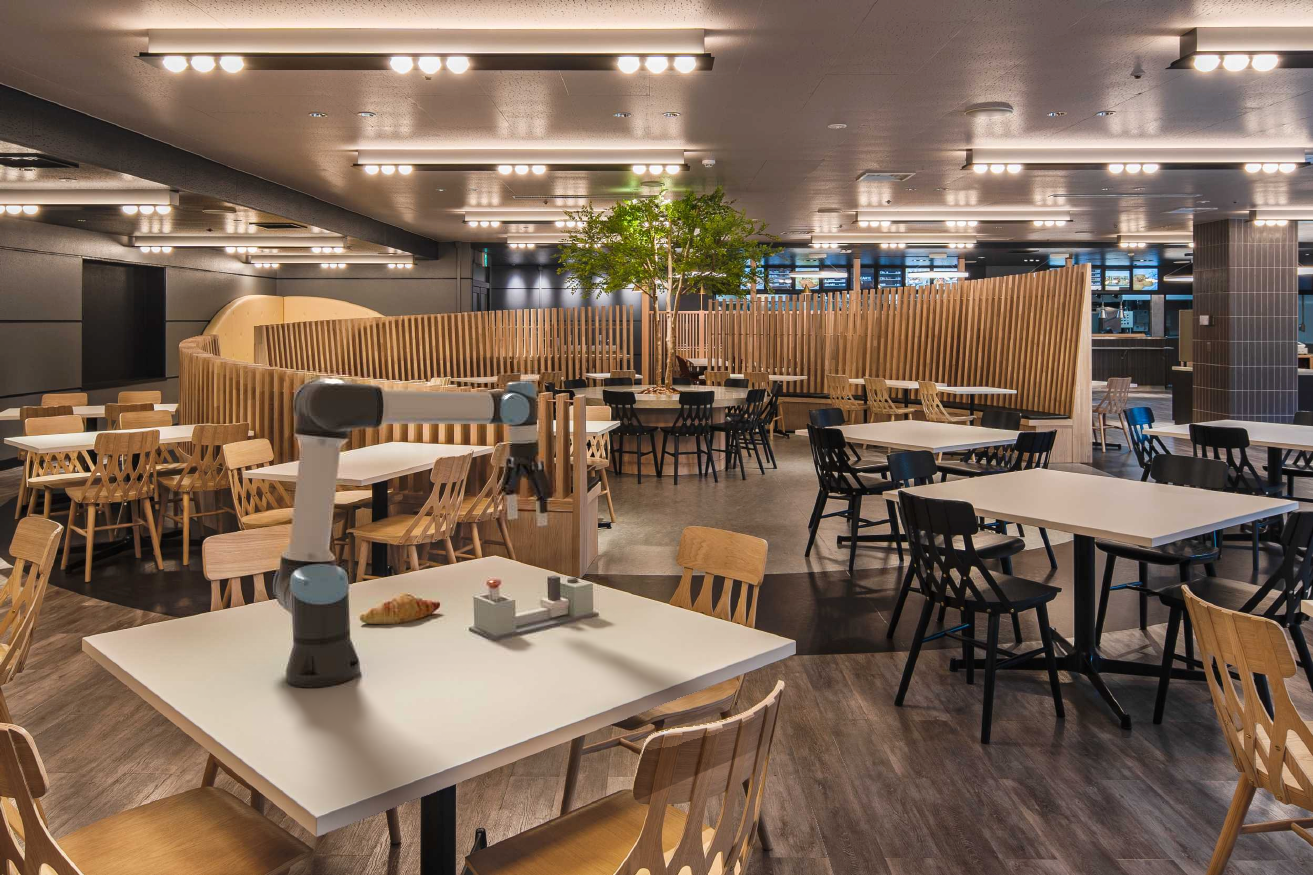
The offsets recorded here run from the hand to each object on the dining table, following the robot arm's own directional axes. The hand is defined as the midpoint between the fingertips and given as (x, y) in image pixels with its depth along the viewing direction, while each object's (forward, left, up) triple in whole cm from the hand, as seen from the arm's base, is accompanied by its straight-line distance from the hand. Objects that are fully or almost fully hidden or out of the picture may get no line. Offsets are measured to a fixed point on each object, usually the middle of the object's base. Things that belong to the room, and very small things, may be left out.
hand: (527, 522), depth 238 cm
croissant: (-25, +23, -26) cm, 43 cm away
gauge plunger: (-13, -5, -21) cm, 26 cm away
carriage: (+5, -5, -24) cm, 25 cm away
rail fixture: (-1, -5, -26) cm, 26 cm away
